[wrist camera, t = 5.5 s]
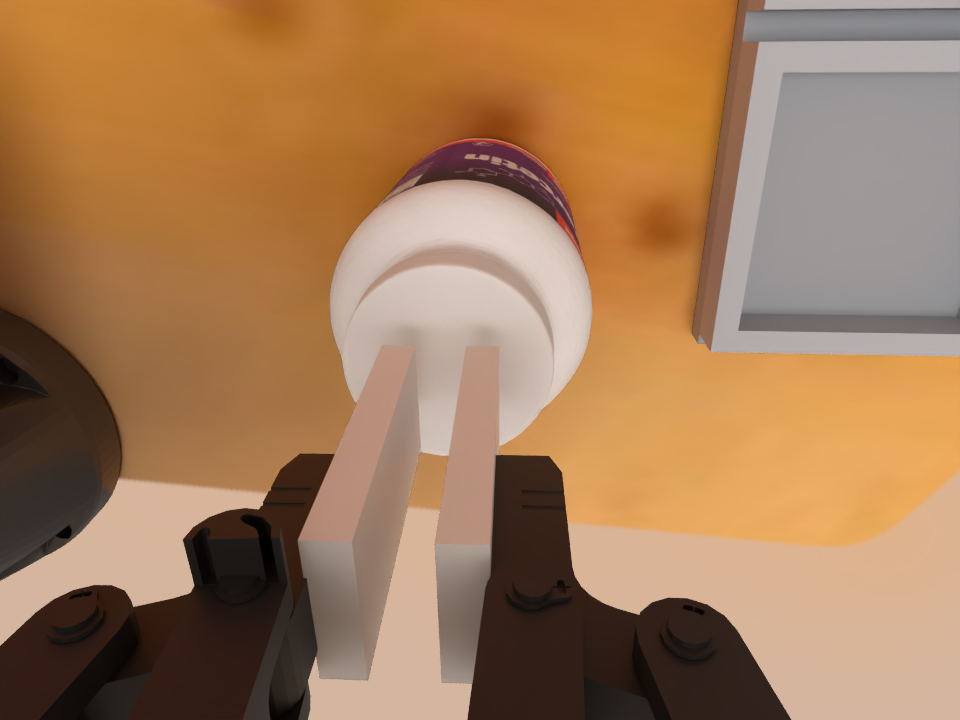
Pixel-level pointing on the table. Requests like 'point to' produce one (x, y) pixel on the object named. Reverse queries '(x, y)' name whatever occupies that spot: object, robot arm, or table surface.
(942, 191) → the grey compartment tray
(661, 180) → the table surface
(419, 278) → the pill bottle
